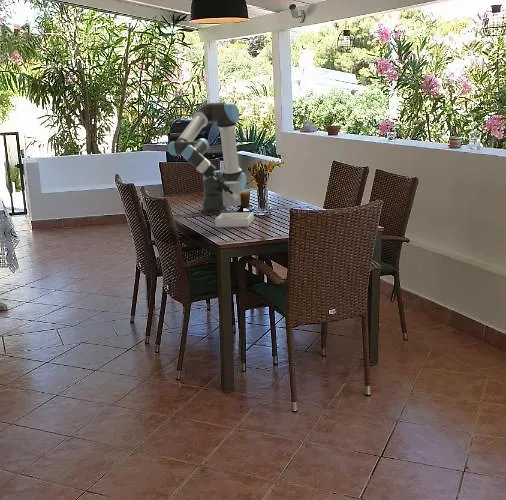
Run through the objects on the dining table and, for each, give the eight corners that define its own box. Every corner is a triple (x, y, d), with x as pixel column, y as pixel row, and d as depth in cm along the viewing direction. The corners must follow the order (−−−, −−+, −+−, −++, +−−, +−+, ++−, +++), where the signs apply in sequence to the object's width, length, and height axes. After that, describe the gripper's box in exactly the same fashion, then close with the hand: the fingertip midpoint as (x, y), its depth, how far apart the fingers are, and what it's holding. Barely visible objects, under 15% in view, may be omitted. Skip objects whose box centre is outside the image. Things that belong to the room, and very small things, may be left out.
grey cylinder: (225, 206, 378) (224, 184, 375) (221, 204, 387) (220, 181, 384) (242, 205, 380) (241, 182, 377) (238, 202, 389) (237, 180, 386)
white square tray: (222, 220, 396) (221, 212, 395) (253, 220, 393) (253, 212, 392) (215, 227, 378) (215, 218, 377) (248, 226, 375) (248, 218, 374)
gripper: (203, 171, 390) (233, 198, 394) (200, 176, 369) (232, 204, 372) (212, 161, 389) (242, 188, 392) (210, 165, 367) (241, 194, 371)
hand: (237, 196), depth 382 cm, fingers closed on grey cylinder, 9 cm apart
